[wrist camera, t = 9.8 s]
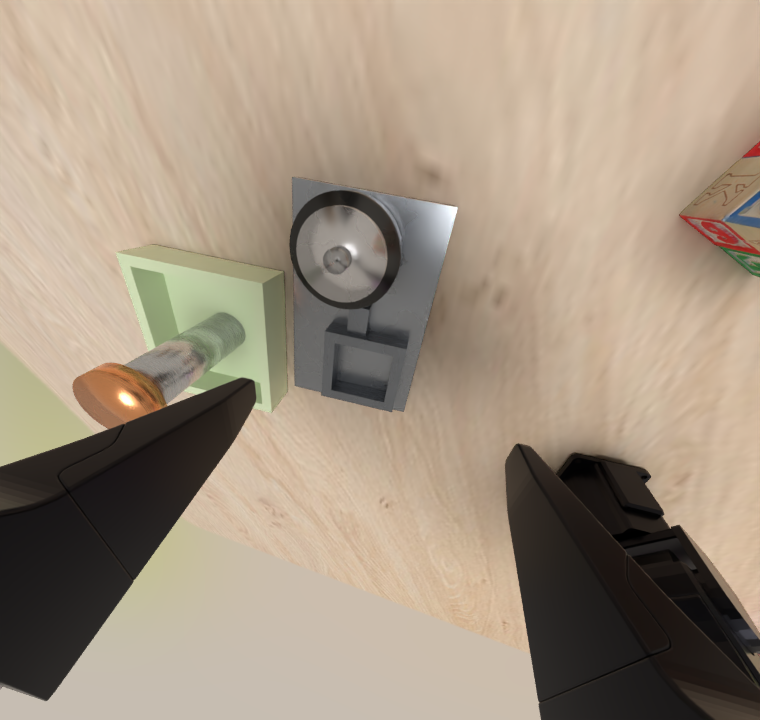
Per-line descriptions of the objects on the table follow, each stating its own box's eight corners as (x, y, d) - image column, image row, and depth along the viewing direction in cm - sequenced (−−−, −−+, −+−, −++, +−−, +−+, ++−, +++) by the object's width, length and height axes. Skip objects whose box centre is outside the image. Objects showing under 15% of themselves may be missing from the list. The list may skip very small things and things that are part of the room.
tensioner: (404, 404, 26) (398, 440, 22) (299, 379, 27) (276, 410, 23) (456, 206, 17) (461, 211, 14) (299, 177, 18) (262, 174, 14)
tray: (287, 391, 28) (271, 412, 25) (185, 367, 28) (160, 385, 26) (283, 271, 21) (262, 283, 19) (153, 244, 22) (115, 252, 20)
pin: (254, 357, 25) (159, 444, 17) (208, 346, 26) (91, 426, 17) (249, 311, 23) (136, 385, 14) (199, 300, 23) (58, 366, 15)
